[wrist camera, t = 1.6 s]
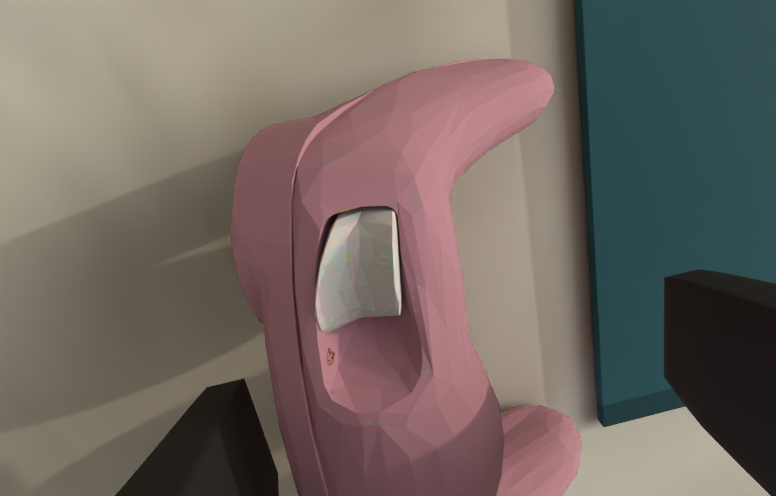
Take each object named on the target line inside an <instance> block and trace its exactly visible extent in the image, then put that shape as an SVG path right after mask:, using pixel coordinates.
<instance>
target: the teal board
mask: <svg viewBox="0 0 776 496" xmlns="http://www.w3.org/2000/svg"><path fill="white" fill-rule="evenodd" d="M575 16H576V33H577V51H578V69H579V87H580V105H581V123H582V140H583V158H584V176H585V194H586V212H587V230H588V248H589V265H590V283H591V301H592V319H593V337H594V355H595V373H596V390H597V408H598V420H599V422H600V423H601V424H602V426H603V427H607V426H611V425H614V424H618V423H622V422H626V421H630V420H634V419H638V418H642V417H645V416H649V415H653V414H657V413H661V412H665V411H669V410H673V409H676V408H680V407H684V406H685V405H684V403H683V402H682V401H681V399H680V398H679V397H678V395H677V394H676V393H675V391H674V390H673V389H672V387H671V386H670V384H669V383H668V382H667V380H666V379H665V378H664V277H667V276H672V275H676V274H680V273H684V272H688V271H692V270H697V269H702V270H710V271H717V272H723V273H728V274H733V275H738V276H743V277H748V278H753V279H757V280H762V281H766V282H771V283H775V284H776V0H575Z"/></svg>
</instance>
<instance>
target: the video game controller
mask: <svg viewBox="0 0 776 496" xmlns="http://www.w3.org/2000/svg"><path fill="white" fill-rule="evenodd" d="M553 93H554V85H553V81H552V78H551V75H550V74H549V73H548V72H546V71H545V70H544V69H543V68H542V67H541V66H538V65H536V64H533V63H531V62H526V61H521V60H513V59H488V60H468V61H458V62H454V63H450V64H447V65H443V66H439V67H435V68H431V69H426V70H420V71H416V72H413V73H410V74H408V75H405V76H403V77H401V78H398V79H396V80H394V81H392V82H389V83H387V84H385V85H382V86H381V87H379V88H377V89H374V90H372V91H370V92H368V93H366V94H363V95H361V96H359V97H357V98H355V99H353V100H350V101H348V102H346V103H344V104H342V105H339V106H337V107H335V108H333V109H331V110H328V111H326V112H324V113H322V114H320V115H317V116H315V117H312V118H306V119H301V120H295V121H290V122H284V123H279V124H273V125H271V126H269V127H267V128H265V129H263V130H261V131H260V132H258V133H257V134H256V135H255V136H254V137H253V138H252V140H251V141H250V143H249V144H248V146H247V147H246V149H245V151H244V153H243V156H242V158H241V161H240V163H239V166H238V171H237V175H236V180H235V185H234V190H233V205H232V219H231V240H232V247H233V255H234V261H235V266H236V271H237V276H238V278H239V281H240V283H241V286H242V288H243V291H244V293H245V296H246V298H247V299H248V301H249V303H250V305H251V307H252V309H253V310H254V312H255V314H256V316H257V318H258V319H259V321H260V322H261V323H262V324H263V325H264V332H265V343H266V351H267V357H268V363H269V369H270V375H271V381H272V387H273V393H274V399H275V405H276V410H277V416H278V422H279V427H280V431H281V434H282V438H283V442H284V446H285V449H286V453H287V457H288V460H289V464H290V467H291V471H292V474H293V478H294V481H295V485H296V488H297V492H298V495H299V496H563V494H564V493H565V491H566V490H567V488H568V486H569V485H570V483H571V482H572V480H573V479H574V477H575V476H576V474H577V470H578V465H579V459H580V453H581V447H582V443H581V436H580V434H579V432H578V430H577V428H576V426H575V424H574V423H573V422H572V421H571V420H570V418H569V417H567V416H566V415H564V414H562V413H560V412H559V411H556V410H553V409H550V408H547V407H544V406H541V405H540V406H519V407H514V408H511V409H508V410H505V411H503V412H500V405H499V403H498V400H497V398H496V396H495V393H494V391H493V388H492V386H491V384H490V381H489V379H488V377H487V374H486V372H485V370H484V367H483V365H482V363H481V360H480V358H479V356H478V354H477V352H476V349H475V347H474V345H473V343H472V341H471V338H470V335H469V327H468V319H467V311H466V303H465V295H464V287H463V278H462V271H461V265H460V259H459V253H458V248H457V242H456V236H455V230H454V225H453V219H452V213H451V207H450V202H449V198H450V194H451V190H452V186H453V185H454V183H455V182H456V181H457V180H458V179H459V177H460V176H461V175H462V174H463V173H464V172H465V171H466V170H467V169H468V168H469V167H471V166H472V165H473V164H474V163H475V162H476V161H477V160H479V159H480V158H481V157H482V156H483V155H484V154H485V153H486V152H488V151H489V150H491V149H492V148H494V147H496V146H497V145H499V144H500V143H502V142H504V141H505V140H507V139H508V138H510V137H511V136H513V135H515V134H516V133H518V132H519V131H521V130H522V129H524V128H526V127H527V126H529V125H530V124H532V123H533V122H534V121H536V119H537V118H538V117H539V115H540V114H541V112H542V111H543V110H544V108H545V107H546V105H547V104H548V102H549V101H550V99H551V97H552V95H553Z"/></svg>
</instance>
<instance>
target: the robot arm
mask: <svg viewBox="0 0 776 496" xmlns="http://www.w3.org/2000/svg"><path fill="white" fill-rule="evenodd" d="M664 378H665V379H666V380H667V382H668V383H669V384H670V386H671V387H672V389H673V390H674V391H675V393H676V394H677V395H678V397H679V398H680V399H681V401H682V402H683V403H684V405H685V406H686V407H687V408H688V410H689V411H690V412H691V413H692V415H693V416H694V417H695V418H696V420H697V421H698V422H699V423H700V425H701V426H702V427H703V428H704V429H705V430H706V431H707V432H708V433H709V434H710V435H711V436H712V437H713V438H714V439H715V440H716V441H717V442H718V443H719V444H720V445H721V446H722V447H723V448H724V449H725V450H726V451H727V452H728V453H729V454H730V455H731V456H732V457H733V458H734V460H735V461H736V462H737V463H738V464H739V465H740V466H741V467H742V468H743V469H744V470H745V471H746V472H747V473H748V474H750V475H751V476H752V477H753V478H754V479H755V480H756V481H757V482H758V483H759V484H760V485H761V486H762V487H763V488H764V489H765V490H766V491H767V492H768V493H769V494H770V495H771V496H776V284H775V283H771V282H766V281H762V280H757V279H753V278H748V277H743V276H738V275H733V274H728V273H723V272H717V271H710V270H702V269H697V270H692V271H688V272H684V273H680V274H676V275H672V276H667V277H664ZM115 496H279V491H278V472H277V469H276V467H275V464H274V461H273V458H272V455H271V452H270V450H269V447H268V444H267V441H266V438H265V435H264V433H263V430H262V427H261V424H260V421H259V419H258V416H257V413H256V410H255V407H254V404H253V402H252V399H251V396H250V393H249V390H248V387H247V385H246V382H245V379H240V380H236V381H232V382H228V383H223V384H219V385H215V386H211V387H207V388H206V389H205V390H204V391H203V392H202V394H201V395H200V396H199V397H198V398H197V399H196V400H195V401H194V403H193V404H192V405H191V406H190V407H189V408H188V410H187V411H186V412H185V413H184V414H183V416H182V417H181V418H180V419H179V421H178V422H177V423H176V424H175V425H174V427H173V428H172V429H171V430H170V431H169V433H168V434H167V435H166V436H165V438H164V439H163V440H162V441H161V442H160V444H159V445H158V446H157V447H156V448H155V449H154V451H153V452H152V453H151V454H150V455H149V457H148V458H147V459H146V460H145V461H144V463H143V464H142V465H141V466H140V467H139V468H138V470H137V471H136V472H135V473H134V474H133V476H132V477H131V478H130V479H129V480H128V481H127V483H126V484H125V485H124V486H123V487H122V488H121V489H120V490H119V492H118V493H117V494H116V495H115Z"/></svg>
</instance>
